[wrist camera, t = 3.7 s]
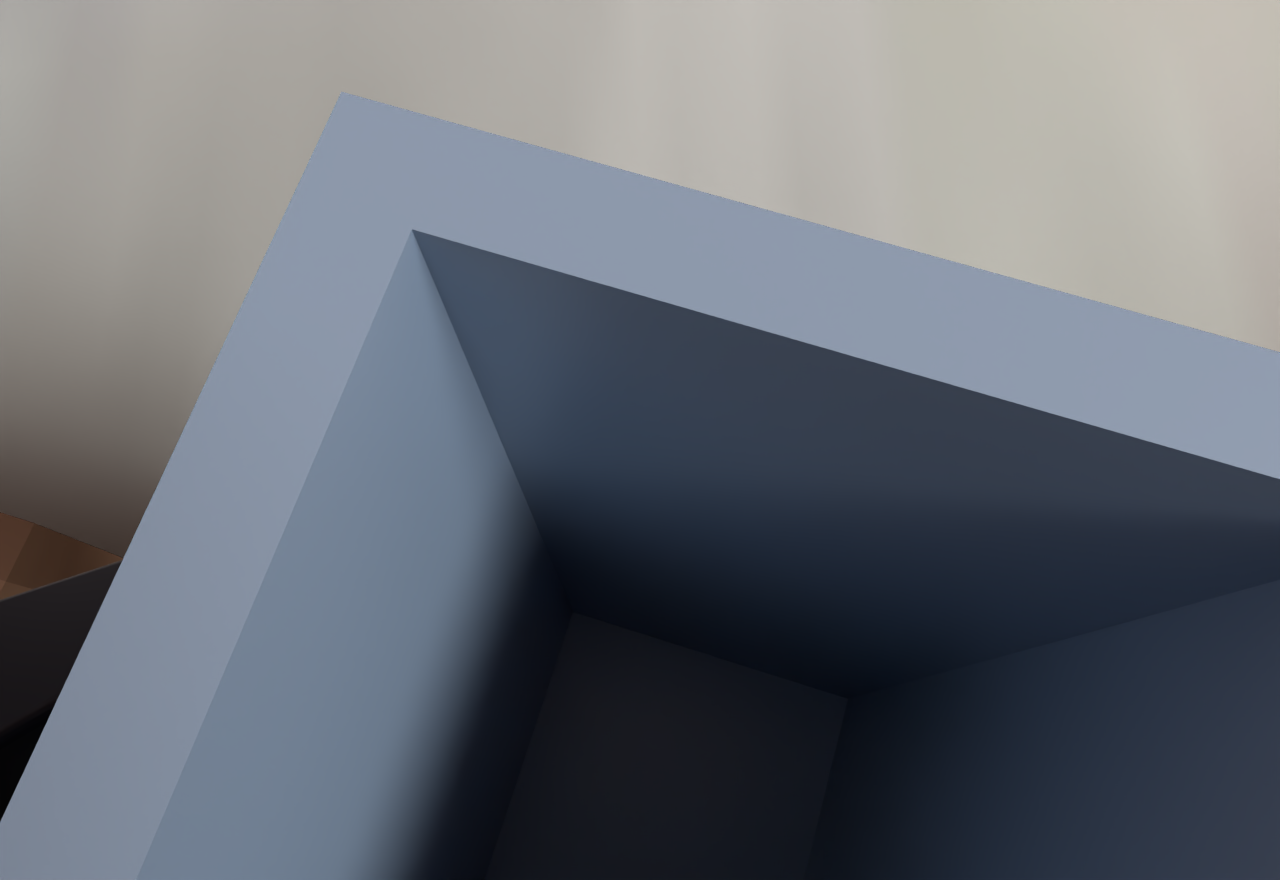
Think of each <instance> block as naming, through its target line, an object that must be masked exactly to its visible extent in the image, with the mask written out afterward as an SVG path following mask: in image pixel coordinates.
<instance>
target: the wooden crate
mask: <svg viewBox="0 0 1280 880" xmlns="http://www.w3.org/2000/svg"><path fill="white" fill-rule="evenodd" d="M120 560H123V558H122V557H119V556H117V555H114V554H112V553H109V552H106V551H104V550H101V549H99V548H96V547H94V546H91V545H89V544H86V543H83V542H81V541H78V540H76V539H73V538H71V537H68V536H66V535H63V534H61V533H58V532H55V531H53V530H50V529H48V528H45V527H43V526H40V525H38V524H35V523H32V522H29V521H26V520H23V519H20V518H17V517H13V516H10V515H7V514H4V513H1V512H0V600H1V599H4V598H7V597H10V596H13V595H17V594H20V593H23V592H26V591H29V590H32V589H35V588H38V587H41V586H44V585H47V584H50V583H53V582H56V581H59V580H62V579H66V578H69V577H72V576H75V575H78V574H81V573H84V572H87V571H90V570H93V569H96V568H99V567H102V566H105V565H108V564H111V563H114V562H117V561H120Z"/></svg>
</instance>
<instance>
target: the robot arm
mask: <svg viewBox="0 0 1280 880" xmlns="http://www.w3.org/2000/svg"><path fill="white" fill-rule="evenodd" d="M121 563H122V560H120V561H117V562H114V563H111V564H108V565H105V566H102V567H99V568H96V569H93V570H90V571H87V572H84V573H81V574H78V575H75V576H72V577H69V578H66V579H62V580H59V581H56V582H53V583H50V584H47V585H44V586H41V587H38V588H35V589H32V590H29V591H26V592H23V593H20V594H17V595H13V596H10V597H7V598H4V599H1V600H0V821H1V819H2V817H3V815H4V813H5V811H6V809H7V806H8V804H9V802H10V800H11V798H12V796H13V794H14V791H15V789H16V787H17V785H18V783H19V781H20V779H21V777H22V774H23V772H24V770H25V768H26V766H27V764H28V762H29V759H30V757H31V755H32V753H33V751H34V749H35V747H36V744H37V742H38V740H39V738H40V736H41V734H42V732H43V729H44V727H45V725H46V723H47V721H48V719H49V717H50V714H51V712H52V710H53V708H54V706H55V704H56V702H57V699H58V697H59V695H60V693H61V691H62V689H63V687H64V684H65V682H66V680H67V678H68V676H69V674H70V672H71V670H72V667H73V665H74V663H75V661H76V659H77V657H78V655H79V652H80V650H81V648H82V646H83V644H84V642H85V640H86V637H87V635H88V633H89V631H90V629H91V627H92V625H93V622H94V620H95V618H96V616H97V614H98V612H99V610H100V607H101V605H102V603H103V601H104V599H105V597H106V595H107V592H108V590H109V588H110V586H111V584H112V582H113V580H114V577H115V575H116V573H117V571H118V569H119V567H120V565H121Z"/></svg>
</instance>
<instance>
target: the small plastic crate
mask: <svg viewBox="0 0 1280 880" xmlns="http://www.w3.org/2000/svg"><path fill="white" fill-rule="evenodd" d="M0 880H1280V352H1277V351H1273V350H1270V349H1266V348H1263V347H1259V346H1255V345H1252V344H1248V343H1245V342H1241V341H1237V340H1234V339H1230V338H1227V337H1223V336H1219V335H1216V334H1212V333H1209V332H1205V331H1201V330H1198V329H1194V328H1191V327H1187V326H1183V325H1180V324H1176V323H1173V322H1169V321H1165V320H1162V319H1158V318H1155V317H1151V316H1147V315H1144V314H1140V313H1137V312H1133V311H1129V310H1126V309H1122V308H1119V307H1115V306H1111V305H1108V304H1104V303H1101V302H1097V301H1093V300H1090V299H1086V298H1083V297H1079V296H1075V295H1072V294H1068V293H1065V292H1061V291H1057V290H1054V289H1050V288H1047V287H1043V286H1039V285H1036V284H1032V283H1029V282H1025V281H1021V280H1018V279H1014V278H1011V277H1007V276H1003V275H1000V274H996V273H993V272H989V271H985V270H982V269H978V268H974V267H971V266H967V265H964V264H960V263H956V262H953V261H949V260H946V259H942V258H938V257H935V256H931V255H928V254H924V253H920V252H917V251H913V250H910V249H906V248H902V247H899V246H895V245H892V244H888V243H884V242H881V241H877V240H874V239H870V238H866V237H863V236H859V235H856V234H852V233H848V232H845V231H841V230H838V229H834V228H830V227H827V226H823V225H820V224H816V223H812V222H809V221H805V220H802V219H798V218H794V217H791V216H787V215H784V214H780V213H776V212H773V211H769V210H766V209H762V208H758V207H755V206H751V205H748V204H744V203H740V202H737V201H733V200H730V199H726V198H722V197H719V196H715V195H712V194H708V193H704V192H701V191H697V190H694V189H690V188H686V187H683V186H679V185H676V184H672V183H668V182H665V181H661V180H658V179H654V178H650V177H647V176H643V175H640V174H636V173H632V172H629V171H625V170H622V169H618V168H614V167H611V166H607V165H604V164H600V163H596V162H593V161H589V160H586V159H582V158H578V157H575V156H571V155H568V154H564V153H560V152H557V151H553V150H550V149H546V148H542V147H539V146H535V145H532V144H528V143H524V142H521V141H517V140H514V139H510V138H506V137H503V136H499V135H496V134H492V133H488V132H485V131H481V130H477V129H474V128H470V127H467V126H463V125H459V124H456V123H452V122H449V121H445V120H441V119H438V118H434V117H431V116H427V115H423V114H420V113H416V112H413V111H409V110H405V109H402V108H398V107H395V106H391V105H387V104H384V103H380V102H377V101H373V100H369V99H366V98H362V97H359V96H355V95H351V94H348V93H344V92H341V94H340V96H339V98H338V100H337V102H336V105H335V107H334V109H333V111H332V113H331V115H330V117H329V120H328V122H327V124H326V126H325V128H324V130H323V132H322V134H321V137H320V139H319V141H318V143H317V145H316V147H315V149H314V152H313V154H312V156H311V158H310V160H309V162H308V164H307V167H306V169H305V171H304V173H303V175H302V177H301V179H300V182H299V184H298V186H297V188H296V190H295V192H294V194H293V197H292V199H291V201H290V203H289V205H288V207H287V209H286V212H285V214H284V216H283V218H282V220H281V222H280V224H279V227H278V229H277V231H276V233H275V235H274V237H273V239H272V241H271V244H270V246H269V248H268V250H267V252H266V254H265V256H264V259H263V261H262V263H261V265H260V267H259V269H258V271H257V274H256V276H255V278H254V280H253V282H252V284H251V286H250V289H249V291H248V293H247V295H246V297H245V299H244V301H243V304H242V306H241V308H240V310H239V312H238V314H237V316H236V319H235V321H234V323H233V325H232V327H231V329H230V331H229V334H228V336H227V338H226V340H225V342H224V344H223V346H222V348H221V351H220V353H219V355H218V357H217V359H216V361H215V363H214V366H213V368H212V370H211V372H210V374H209V376H208V378H207V381H206V383H205V385H204V387H203V389H202V391H201V393H200V396H199V398H198V400H197V402H196V404H195V406H194V408H193V411H192V413H191V415H190V417H189V419H188V421H187V423H186V426H185V428H184V430H183V432H182V434H181V436H180V438H179V441H178V443H177V445H176V447H175V449H174V451H173V453H172V455H171V458H170V460H169V462H168V464H167V466H166V468H165V470H164V473H163V475H162V477H161V479H160V481H159V483H158V485H157V488H156V490H155V492H154V494H153V496H152V498H151V500H150V503H149V505H148V507H147V509H146V511H145V513H144V515H143V518H142V520H141V522H140V524H139V526H138V528H137V530H136V533H135V535H134V537H133V539H132V541H131V543H130V545H129V548H128V550H127V552H126V554H125V556H124V558H123V560H122V563H121V565H120V567H119V569H118V571H117V573H116V575H115V577H114V580H113V582H112V584H111V586H110V588H109V590H108V592H107V595H106V597H105V599H104V601H103V603H102V605H101V607H100V610H99V612H98V614H97V616H96V618H95V620H94V622H93V625H92V627H91V629H90V631H89V633H88V635H87V637H86V640H85V642H84V644H83V646H82V648H81V650H80V652H79V655H78V657H77V659H76V661H75V663H74V665H73V667H72V670H71V672H70V674H69V676H68V678H67V680H66V682H65V684H64V687H63V689H62V691H61V693H60V695H59V697H58V699H57V702H56V704H55V706H54V708H53V710H52V712H51V714H50V717H49V719H48V721H47V723H46V725H45V727H44V729H43V732H42V734H41V736H40V738H39V740H38V742H37V744H36V747H35V749H34V751H33V753H32V755H31V757H30V759H29V762H28V764H27V766H26V768H25V770H24V772H23V774H22V777H21V779H20V781H19V783H18V785H17V787H16V789H15V791H14V794H13V796H12V798H11V800H10V802H9V804H8V806H7V809H6V811H5V813H4V815H3V817H2V819H1V821H0Z"/></svg>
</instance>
